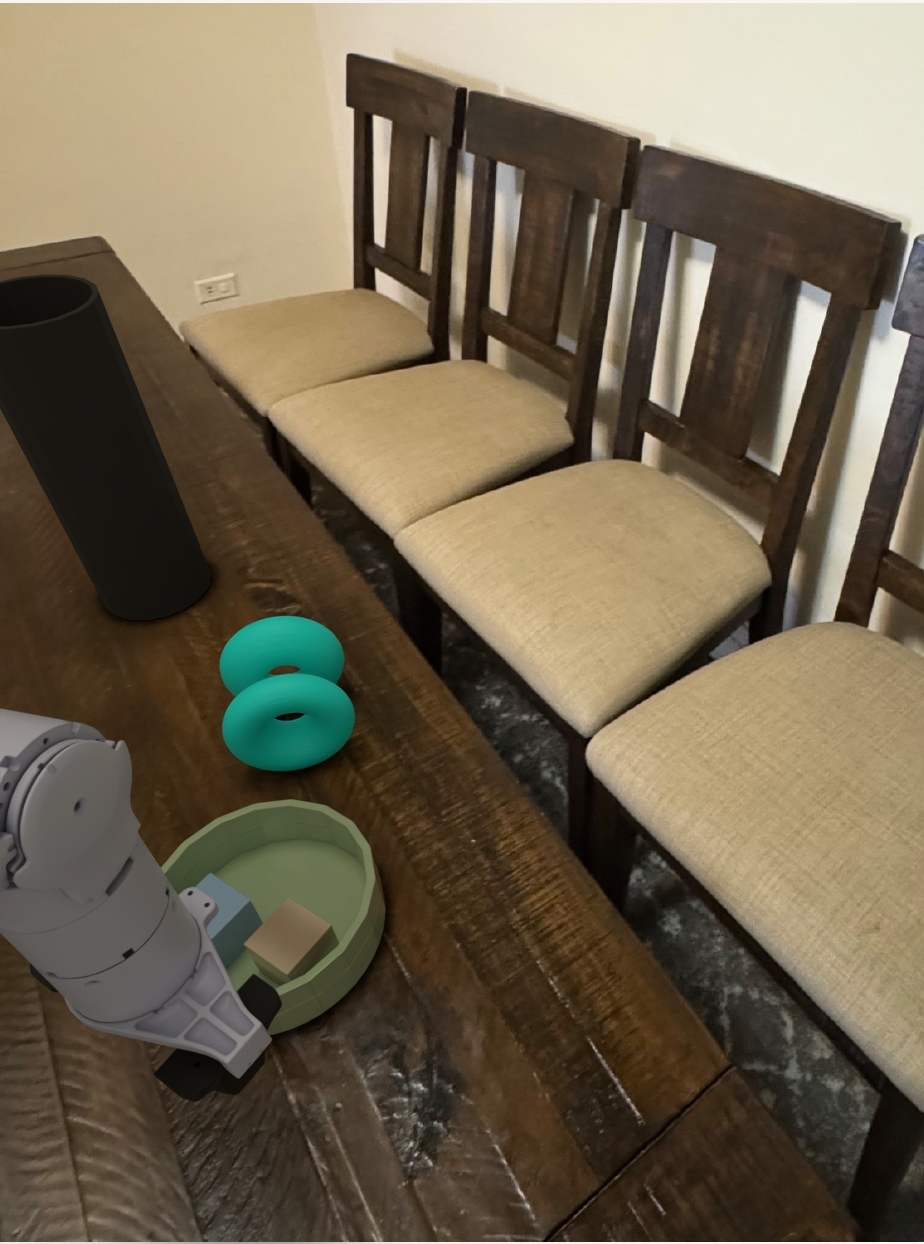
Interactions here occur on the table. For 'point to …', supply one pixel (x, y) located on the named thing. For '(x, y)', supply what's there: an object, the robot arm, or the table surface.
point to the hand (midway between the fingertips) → (196, 1035)
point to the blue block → (229, 918)
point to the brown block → (290, 942)
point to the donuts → (285, 694)
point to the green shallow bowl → (294, 890)
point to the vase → (95, 447)
